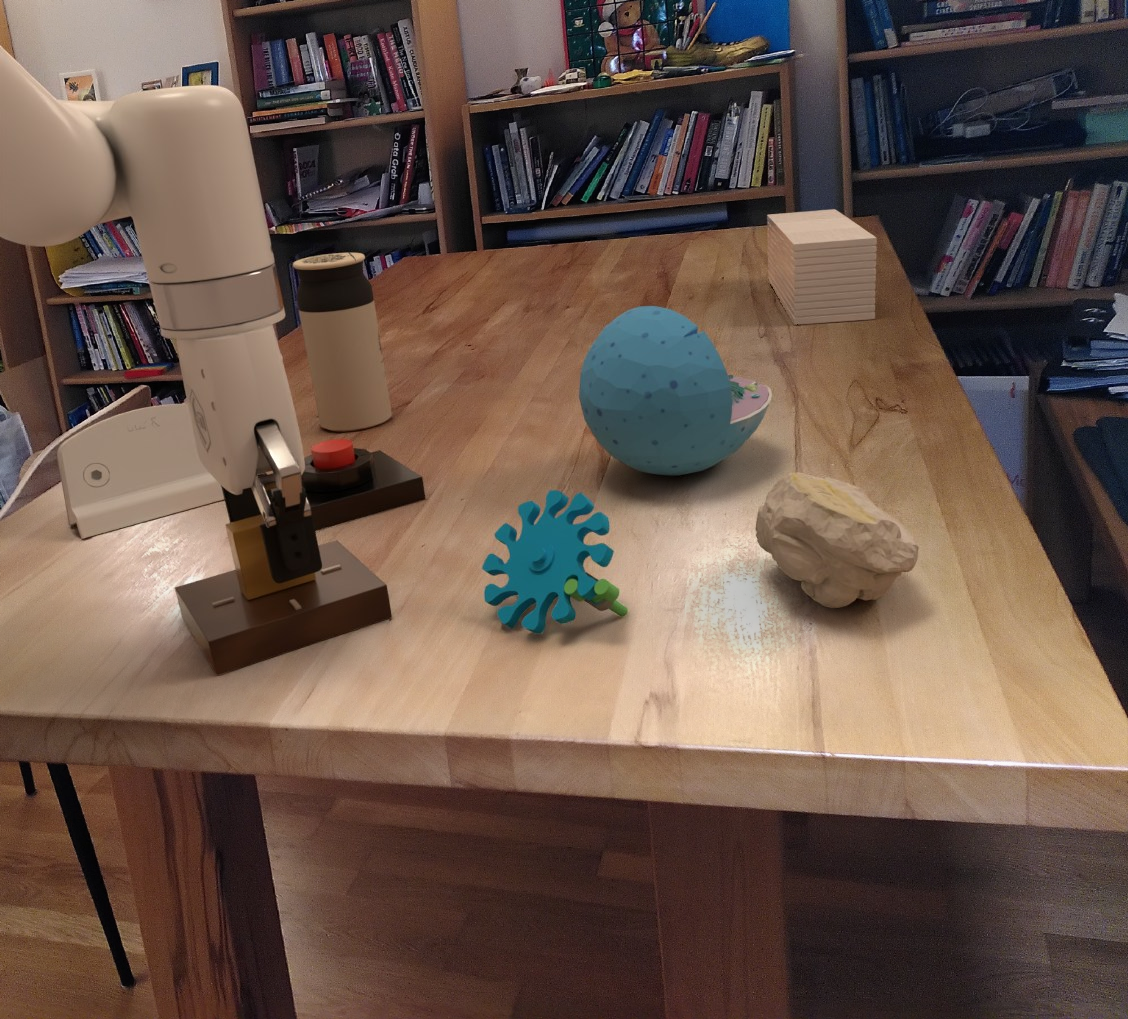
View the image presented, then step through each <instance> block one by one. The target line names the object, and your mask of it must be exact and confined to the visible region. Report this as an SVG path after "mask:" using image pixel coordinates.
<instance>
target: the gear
mask: <svg viewBox="0 0 1128 1019" xmlns="http://www.w3.org/2000/svg"><path fill="white" fill-rule="evenodd" d="M569 499H570V498H569V497H568V496H567V495H566V494H565V493H563V492H561V491H560V490H557V489H556V490H555V489H550V490H549V491H548V492H547V494H546V496H545V505H544V509H543V512H542V514H541V515H540V513H541V506H540V505H539V504H538V503H536V501H534V500H528V501H525V502H522V503H521V504H519V505H518V509H517V513H518V515H519V517H520V518H521V532H520V535H519V537H518V539H517V536H518V531H517V529H516V528H515V527H513V526H512V525H510V524H509V523H507V522H505V523H503V524H502V525H501V526H499V528H498V529H497V530H496V532H494V538H495V539H496V540H497V541H499V542H500V543H502V544H503V545H505V546H506V548H507V550H508V553H509V558H508V560H506V562H504V560H503V559H502V558H501V557H500V556H498V555H496V554H495V553H488V555H487V556H486V558H485V559H484V562H483V565H482V567H481V569H482V570H483V571H484V572H485V573H487V574H489V575H490V576H493V577H495V576H498V575H507V578H508V580H507V582H506V584H505V585H504V586H502V587H500V586H498V585H497V584H495V583H489V584H487V585H486V586H484V592H483V593H484V594H483V596H484V597H483V598H484V602H485V603H487V604H489V605H490V606H492V607H497V606H499V605H501V604H502V603H503V602H504V601H505V600H507V599H509V598H511V597H515V596H517V600H516V601H515V602H514V603H513V604H509V605H503V606H501V607H500V608H499V609H498V610H497V612H496V615H497V618H498V620H499V621H500V622H501V623H502V625H504V626H505V627H507V628H509V629H513V628H515V627H516V626H517V625H518V623H519V622H520V619H521V618H522V616H523V614H524V613H525V612H526V611H527V610H528V609H529V608H531V607H532V606H534V605H535V607H534V608H533V610H531V611H530V612H528V613H527V614H526V615H525V616H524V617H523V618H522V620H521V626H522V627H523V629H525V630H527V631H529V632H532V633H533V634H537V635H541V634H543V633H544V631H545V629H546V620H547V615H548V612H549V609H550V608H551V606H552V605H553V603H554V602H555V600H556V599H557V598H558V599H557V602H556V604H555V605H554V607H553V608H552V610H551V619H552V620H553V621H555V622H556V623H558V624H560V625H564V624H568V623H571V622H573V621H575V620H576V616H577V612H576V610H575V608H574V607H573V603H572V599H574V600H576V601H578V602H583V601H584V602H585V603H586V604H588V605H590V606H591V607H593V608H594V609H595V610H597V611H600V612H605V611H607V610H609V611H611V612H613V613H614V614H616V615H617V616H619V617H620V618H624V617H626V616H627V615H628V613H629V609H628V607H627V606H625V605H624V604H622V603H621V602H620V601H618V600H617V599H618V598H619V597H620V589H619V587H617V586H616V585H614V584H613V583H612V582H610V581H609V580H607V579H605V578H601V579H599V578H596V577H595V576H593V575H591V574H590V573H589V572H587V571H586V569H585V567H584V566H585V565H584V563H585V561H586V559H587V558H588V557H590V558H591V560H592V561H593V562H594V563H595V564H597V565H598V566H599V567H601V568H608V567H609V565H610V563H611V562H612V559H613V556H614V552H615V550H614V549H612V548H611V546H609V545H607V544H605V543H604V542H601V543H597V544H586V543H585V542H584V541H585V540H584V539H585V537H586V536H587V535H588V534H590V533H594V534H596V535H598V536H603V537H604V536H606V535H608V534H609V532H610V526H611V524H610V520H609V517H608V516H607V515H606V514H604V513H603V511H598V512H594V513H593V514H592V515H591V516H590V517H589V518H587V519H586V520H584V521H582V522H579V523H574V521H575V520H576V519H577V517H580V516H586V515H589V514H591V513H592V512H593V510H595V505H594V503H593V502H592V500H591V499H590V498H588V497H587V496H586V495H584V493H583V492H577V494H575V495H574V496H573V497H572V500H571V503H570V504H569V505H568V503H569ZM566 506H567V508H566ZM564 508H566V509H565V510H564V511H563V512H562V513H561V514H558V513H559V512H560V511H562V510H563V509H564ZM557 514H558V516H557ZM539 516H540V517H539ZM538 517H539V518H538ZM537 519H538V520H537ZM536 521H537V522H536Z"/></svg>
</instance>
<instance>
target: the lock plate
mask: <svg viewBox="0 0 1128 1019" xmlns="http://www.w3.org/2000/svg"><path fill="white" fill-rule="evenodd" d="M318 547H319V552H320V556H321V561H322V568H321V570H320V571H318V572H315V576H316V580H313V581H310V582H306V583H303V584H300V585H297V586H293V587H290V588H287V589H284V590H280V591H277V592H274V593H271V594H267V595H264V596H261V597H257V598H254V599H251V600H247V598H246V597H245V596H244V594H243V593H242V592H241V590H240V587H239V583H238V578H237V574H236V570H235V569H233V570H229V571H226V572H224V573H219V574H216V575H213V576H209V577H206V578H205V577H204V578H202V579H199V580H195V581H192V582H189V583H185V584H182V585H178V586H175V587H174V591H175V594H176V599H177V602H178V606H179V611H180V614H181V618H182V620H183V622H184V624H185V626H186V627H187V628H188V630H189V632H190V633H191V635H192V637H193V638H194V640H195V642H196V644H197V646H198V647H199V648H200V650H201V652H202V654H203V656H204V657H205V658H206V661H207V662H208V663H209V666H210V668H211V669H212V670H213V672H214V674H215V676H221V675H223V674H226V673H231V672H232V671H233V672H234V671H236V670H239V669H241V668H245V667H247V666H250V665H253V664H257V663H259V662H262V661H266V660H268V659H272V658H274V657H278V656H280V655H283V654H286V653H289V652H292V651H295V650H298V649H301V648H304V647H307V646H311V645H313V644H316V643H319V642H323V641H325V640H328V639H331V638H334V637H337V636H340V635H343V634H346V633H349V632H352V631H355V630H358V629H361V628H364V627H367V626H369V625H372V624H373V625H374V624H376V623H379V622H383V621H385V620H388V619H390V618H391V619H392V618H393V613H392V608H391V601H390V597H389V596H390V595H389V591H388V584H386V583H385V582H384V581H383V580H382V579H381V578H380V577H379V576H377V575H376V574H375V572H373V571H372V570H371V569H369V567H367V566H366V565H365V564H364V563H363V562H362V561H361V560H360V559H359V558H358V557H356V556H355V555H354V554H353V553H352V552H351V551H350V550H349V549H347V548H346V547H345V546H344V545H343V544H342V543H340V541H338V540H337V539H336V540H332V541H328V542H325V543H322V544H318Z"/></svg>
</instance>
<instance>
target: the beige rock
mask: <svg viewBox="0 0 1128 1019" xmlns="http://www.w3.org/2000/svg"><path fill="white" fill-rule="evenodd" d="M757 510H758V511H757V515H756V519H755V520H756V521H755V532H756V533H755V537H756V541H757V544H758V545H759V547H760V548H761V549H763V550H764V552H766V553H769V554H770V555H771V558H772V560H774V562H775V563H776V565H777V567H778V568H780V569H781V571H782V572H783V573H784V574H785V575H786V576H788V577H789V578H790V579H792V580H795V581H801V585H800V588H801V589H802V591H803V592H804V593H805V594H806V595H807V596H809V597H810V598H811V599H812V600H813V602H816V603H818V604H820V605H821V606H824V607H827V608H831V609H837V608H843V607H847V606H849V605H851V604H852V603H854V602H855V601H856V600H863V601H869V600H878V598H881V597H882V596H885V595H886V594H887V593H888V592H889V590H890V589H891V588H892V587H893V585H894V583H895V581H896V579H897V578H898V577H900V576H901V575H902V573H909V572H911V571H913V569H914V568H915V567H916V565H917V562H918V560H919V549H920V548H919V545H918V543H917V541H916V539H915V537H913V536H912V535H911V534H910V533H909V532H908V530H907V528H906V527H905V526H904V525H903V524H902V522H900V521H899V520H898V519H896V518H894V517H893V516H892V515H890V514H889V513H887V512H886V511H885V510H884V509H881V508H880V507H878V506H877V505H875V504H874V503H873V501H871V500H870V498H869V497H868V496H867V493H865V492H864V491H863V490H862V489H861V488H860V487H859V486H858V485H854V484H850V483H849V482H846V481H841V480H839V479H835V478H833V477H829V476H825V477H820V476H816V475H815V476H814V475H811V474H809V473H802V472H800V471H798V472H797V471H796V472H787V473H785V474H784V475H782V476H780V478H779V479H778V480H777V482H776V483H775V484H774V485H773V486H772V488H771V489H770V490H769V491H768V493H767V495H766V498H765V500H764V503H763V505H761V506H759V507H758V509H757Z"/></svg>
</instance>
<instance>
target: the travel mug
mask: <svg viewBox="0 0 1128 1019" xmlns="http://www.w3.org/2000/svg"><path fill="white" fill-rule="evenodd" d="M365 259H366V256H365V254H364V253H361V252H338V253H328V254H327V253H326V254H320V255H319V254H318V255H314V256H308V257H305V258H301V259H298V260H296V261H294V262H293V263H292V267H293V268H294V269H295V271H296V272H297V275H298V279H299V283H298V287H297V290H296V293H295V297H296V304H297V309H298V313H299V314H298V315H299V319H300V325H301V330H302V336H303V341H304V347H305V351H306V357H307V362H308V367H309V368H308V369H309V373H310V378H311V384H312V389H313V396H314V400H315V405H316V411H317V416H318V422H319V426H320V427H321V428H323V429H325V430H328V431H331V432H336V433H349V432H356V431H363V430H368V429H372V428H374V427H377V426H380V425H382V424H384V423H385V422H386V421H388V420H389V419H390V418H391V417H392V416H393V412H392V406H391V398H390V393H389V389H388V381H387V374H386V368H385V362H384V356H383V349H382V344H381V343H382V342H381V336H380V335H381V334H380V330H379V324H378V323H379V322H378V316H377V311H376V304H375V298H374V292H373V285H372V283H371V282H370V281H369V280H368V278H367V276H366V275H365V274H364V260H365Z"/></svg>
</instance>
